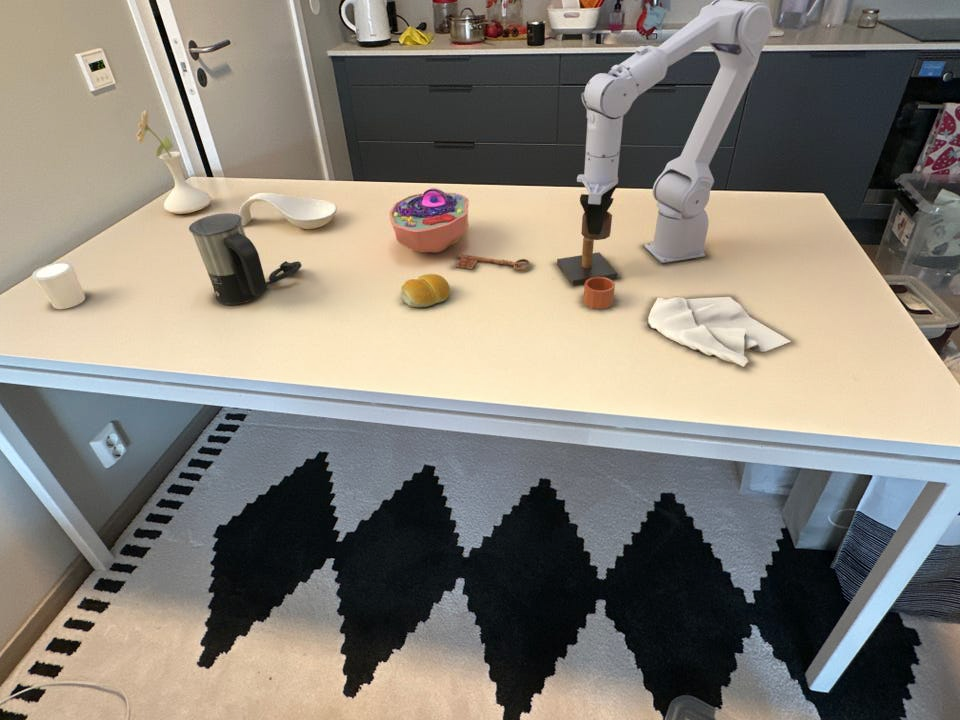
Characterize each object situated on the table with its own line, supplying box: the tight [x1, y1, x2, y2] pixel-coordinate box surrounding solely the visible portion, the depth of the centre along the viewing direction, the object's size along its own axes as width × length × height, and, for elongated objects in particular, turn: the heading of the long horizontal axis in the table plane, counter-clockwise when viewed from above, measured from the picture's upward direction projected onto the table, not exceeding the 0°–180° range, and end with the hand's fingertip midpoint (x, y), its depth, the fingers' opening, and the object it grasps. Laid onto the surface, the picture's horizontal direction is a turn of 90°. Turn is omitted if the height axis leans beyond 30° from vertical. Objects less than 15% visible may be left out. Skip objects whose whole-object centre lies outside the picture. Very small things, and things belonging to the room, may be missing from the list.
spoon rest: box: [238, 192, 338, 230], centre depth 137 cm, size 24×12×7 cm, turn 83°
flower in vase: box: [136, 109, 212, 215], centre depth 141 cm, size 13×11×25 cm
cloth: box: [647, 296, 791, 368], centre depth 96 cm, size 20×22×2 cm
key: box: [455, 254, 531, 272], centre depth 117 cm, size 6×1×15 cm
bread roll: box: [400, 273, 451, 308], centre depth 108 cm, size 8×9×4 cm
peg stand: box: [556, 236, 618, 287], centre depth 112 cm, size 9×9×7 cm
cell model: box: [388, 187, 470, 254], centre depth 123 cm, size 17×20×11 cm
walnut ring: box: [581, 211, 613, 241], centre depth 107 cm, size 5×5×4 cm
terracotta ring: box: [582, 277, 616, 310], centre depth 104 cm, size 5×5×4 cm
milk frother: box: [188, 212, 303, 306], centre depth 111 cm, size 14×16×15 cm
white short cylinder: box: [31, 261, 86, 310], centre depth 112 cm, size 7×7×7 cm
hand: (596, 226), depth 107 cm, fingers closed on walnut ring, 5 cm apart
